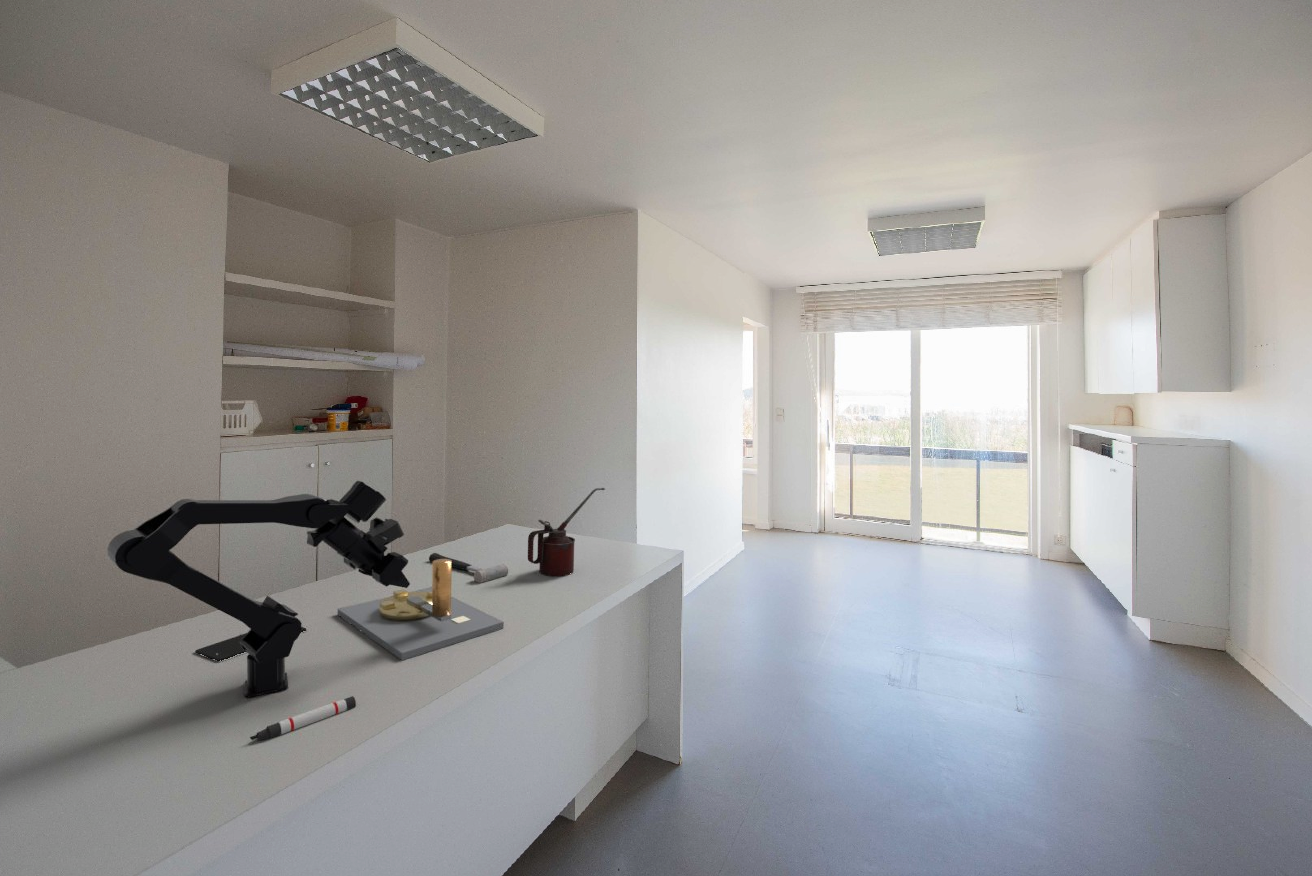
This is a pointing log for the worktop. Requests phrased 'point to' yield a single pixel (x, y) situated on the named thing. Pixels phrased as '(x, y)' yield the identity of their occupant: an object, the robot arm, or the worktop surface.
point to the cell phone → (225, 648)
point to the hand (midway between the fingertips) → (402, 583)
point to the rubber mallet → (476, 569)
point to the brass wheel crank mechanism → (422, 598)
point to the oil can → (555, 547)
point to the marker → (305, 718)
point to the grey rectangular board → (419, 627)
